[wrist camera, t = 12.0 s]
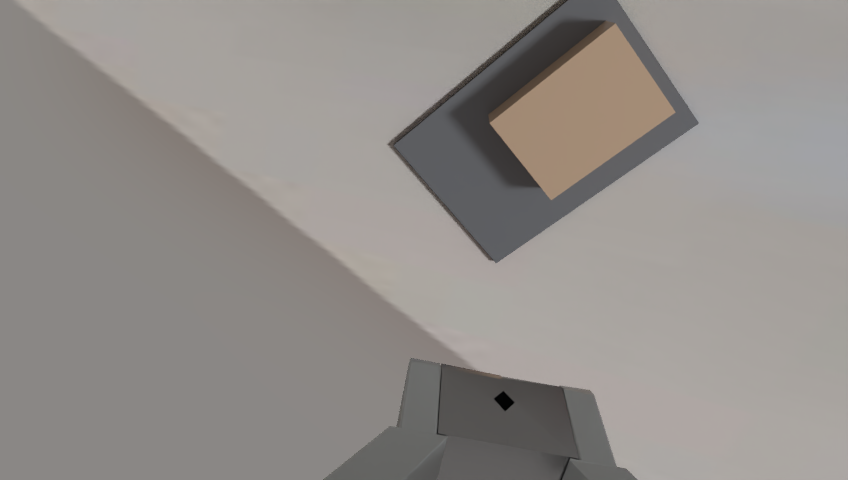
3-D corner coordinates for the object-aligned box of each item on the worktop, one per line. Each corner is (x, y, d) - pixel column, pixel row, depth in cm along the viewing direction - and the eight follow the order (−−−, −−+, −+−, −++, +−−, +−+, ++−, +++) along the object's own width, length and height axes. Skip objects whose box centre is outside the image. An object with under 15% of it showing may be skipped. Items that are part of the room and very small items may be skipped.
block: (551, 200, 45) (675, 112, 42) (489, 123, 43) (615, 23, 40) (546, 187, 48) (662, 104, 44) (488, 114, 46) (605, 20, 42)
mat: (495, 260, 52) (496, 263, 51) (394, 144, 48) (393, 145, 47) (696, 121, 45) (698, 123, 45) (598, -26, 41) (599, -26, 41)
